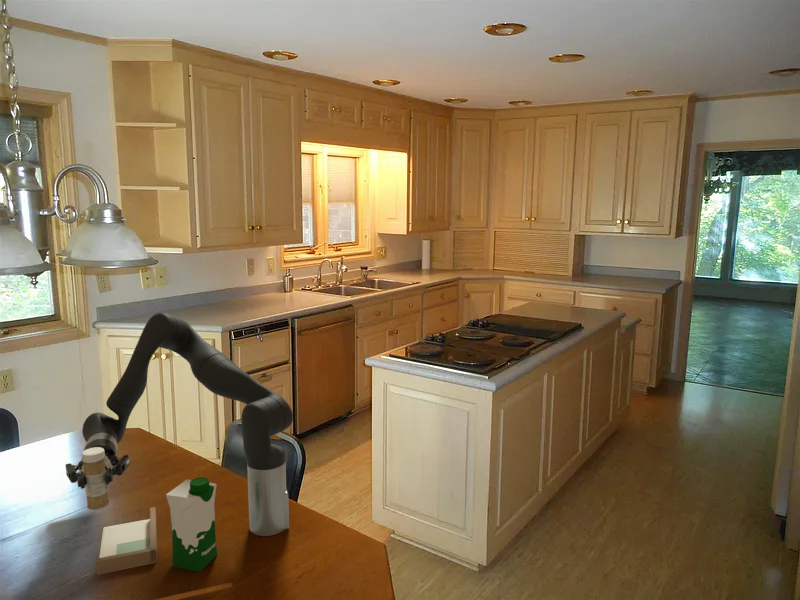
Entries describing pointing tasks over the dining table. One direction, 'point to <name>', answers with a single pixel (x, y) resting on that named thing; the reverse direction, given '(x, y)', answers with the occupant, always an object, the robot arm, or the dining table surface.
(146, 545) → the pad
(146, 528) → the tray
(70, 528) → the dining table surface
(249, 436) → the robot arm
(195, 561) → the milk carton
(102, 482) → the sprinkles bottle
